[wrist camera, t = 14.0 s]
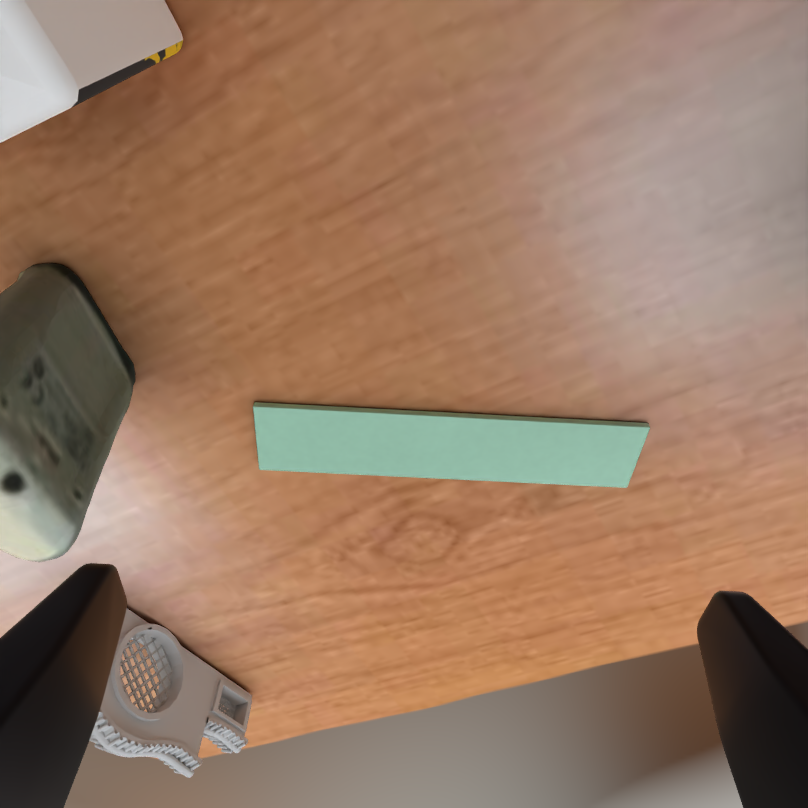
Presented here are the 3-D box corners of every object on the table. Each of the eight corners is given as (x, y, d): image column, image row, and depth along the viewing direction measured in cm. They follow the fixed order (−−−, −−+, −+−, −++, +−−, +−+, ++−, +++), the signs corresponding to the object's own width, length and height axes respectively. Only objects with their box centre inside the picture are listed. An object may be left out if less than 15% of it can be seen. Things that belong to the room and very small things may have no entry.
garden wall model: (259, 693, 36) (237, 808, 31) (235, 701, 37) (210, 816, 32) (98, 580, 30) (40, 702, 25) (72, 592, 30) (11, 714, 26)
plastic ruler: (648, 422, 24) (650, 427, 24) (624, 482, 26) (627, 488, 26) (254, 401, 23) (252, 406, 23) (260, 464, 25) (258, 470, 25)
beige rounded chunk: (201, 340, 22) (117, 509, 15) (126, 424, 24) (26, 601, 18) (43, 231, 20) (-133, 376, 13) (-23, 335, 22) (-201, 502, 15)
